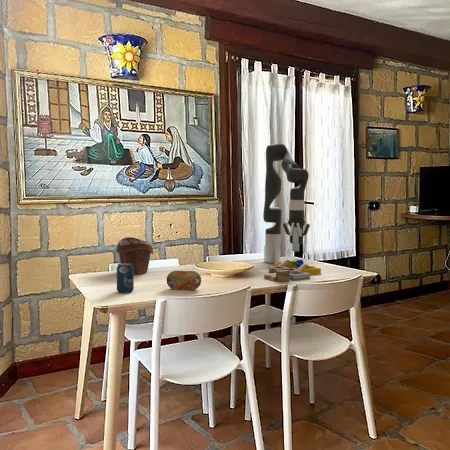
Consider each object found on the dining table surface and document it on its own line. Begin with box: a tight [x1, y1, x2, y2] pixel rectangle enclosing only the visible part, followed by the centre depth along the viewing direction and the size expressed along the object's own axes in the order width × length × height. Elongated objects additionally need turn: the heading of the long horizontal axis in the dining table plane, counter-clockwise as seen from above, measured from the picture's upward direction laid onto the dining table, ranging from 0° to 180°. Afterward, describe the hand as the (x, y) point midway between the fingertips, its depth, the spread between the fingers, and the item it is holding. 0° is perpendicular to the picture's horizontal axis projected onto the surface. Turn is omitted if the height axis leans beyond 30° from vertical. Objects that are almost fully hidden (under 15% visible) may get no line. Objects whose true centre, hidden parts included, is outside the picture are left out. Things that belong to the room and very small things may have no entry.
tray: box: [290, 270, 311, 281], centre depth 228 cm, size 10×10×2 cm
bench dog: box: [275, 270, 291, 283], centre depth 219 cm, size 3×6×5 cm, turn 121°
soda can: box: [116, 262, 135, 294], centre depth 191 cm, size 7×7×12 cm
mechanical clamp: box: [273, 259, 322, 276], centre depth 247 cm, size 18×6×30 cm
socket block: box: [268, 266, 291, 274], centre depth 239 cm, size 8×8×3 cm
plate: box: [263, 273, 277, 282], centre depth 224 cm, size 8×8×2 cm
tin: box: [166, 270, 202, 292], centre depth 198 cm, size 15×3×8 cm, turn 81°
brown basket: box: [116, 236, 154, 276], centre depth 236 cm, size 18×20×18 cm
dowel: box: [291, 227, 300, 252], centre depth 227 cm, size 4×4×12 cm
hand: (296, 243), depth 227 cm, fingers closed on dowel, 3 cm apart
